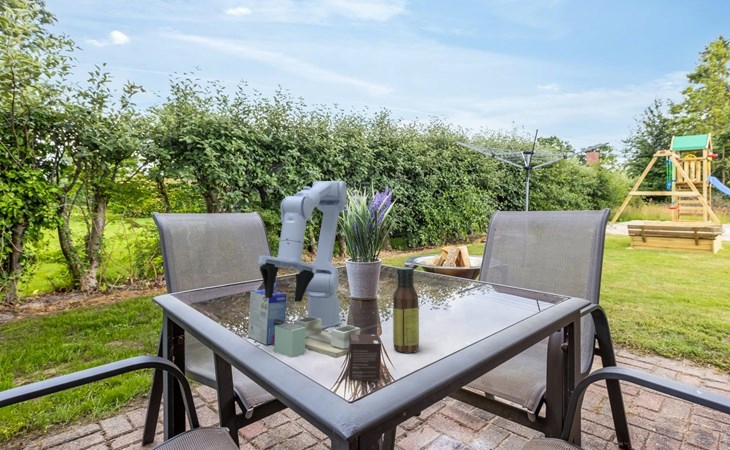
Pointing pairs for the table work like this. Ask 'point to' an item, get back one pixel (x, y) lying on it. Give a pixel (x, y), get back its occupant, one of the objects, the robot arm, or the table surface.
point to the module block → (290, 339)
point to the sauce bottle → (405, 313)
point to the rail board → (326, 337)
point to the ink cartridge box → (266, 315)
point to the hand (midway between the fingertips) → (283, 299)
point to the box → (364, 357)
